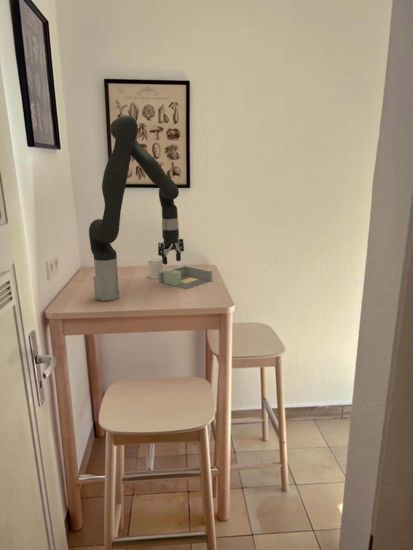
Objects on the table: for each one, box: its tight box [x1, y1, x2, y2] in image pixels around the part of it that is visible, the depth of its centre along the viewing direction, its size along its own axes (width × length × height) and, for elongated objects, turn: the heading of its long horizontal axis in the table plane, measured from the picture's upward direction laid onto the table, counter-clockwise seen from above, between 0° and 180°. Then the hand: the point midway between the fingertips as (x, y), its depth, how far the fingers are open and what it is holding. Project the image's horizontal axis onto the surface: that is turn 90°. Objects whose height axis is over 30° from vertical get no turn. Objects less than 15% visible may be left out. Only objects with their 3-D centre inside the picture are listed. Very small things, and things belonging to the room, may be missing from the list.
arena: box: [158, 265, 213, 291], centre depth 181 cm, size 18×18×6 cm
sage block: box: [163, 268, 181, 287], centre depth 179 cm, size 4×8×6 cm, turn 49°
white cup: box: [147, 257, 164, 280], centre depth 190 cm, size 8×8×10 cm
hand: (171, 262), depth 177 cm, fingers open, 8 cm apart
